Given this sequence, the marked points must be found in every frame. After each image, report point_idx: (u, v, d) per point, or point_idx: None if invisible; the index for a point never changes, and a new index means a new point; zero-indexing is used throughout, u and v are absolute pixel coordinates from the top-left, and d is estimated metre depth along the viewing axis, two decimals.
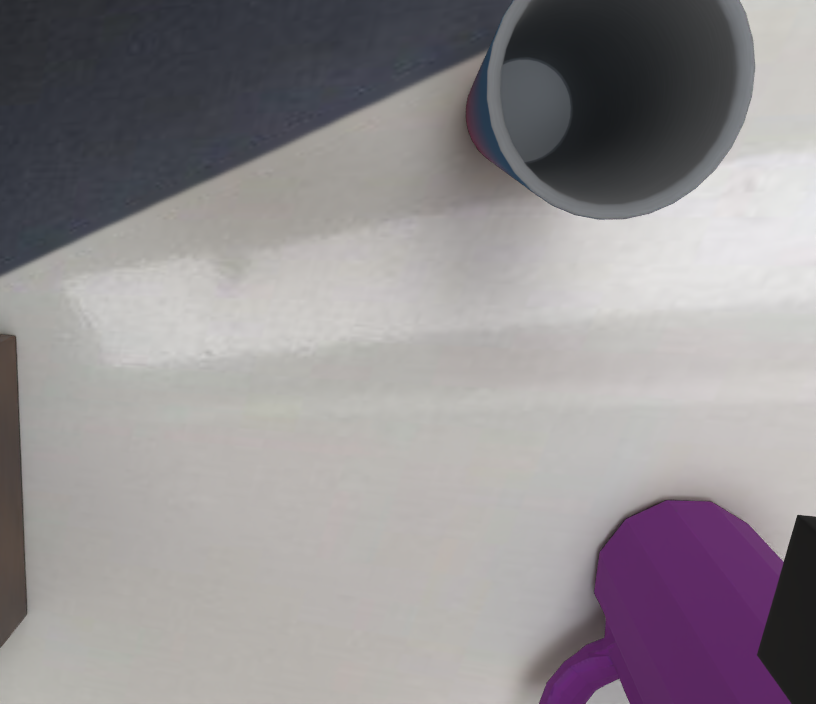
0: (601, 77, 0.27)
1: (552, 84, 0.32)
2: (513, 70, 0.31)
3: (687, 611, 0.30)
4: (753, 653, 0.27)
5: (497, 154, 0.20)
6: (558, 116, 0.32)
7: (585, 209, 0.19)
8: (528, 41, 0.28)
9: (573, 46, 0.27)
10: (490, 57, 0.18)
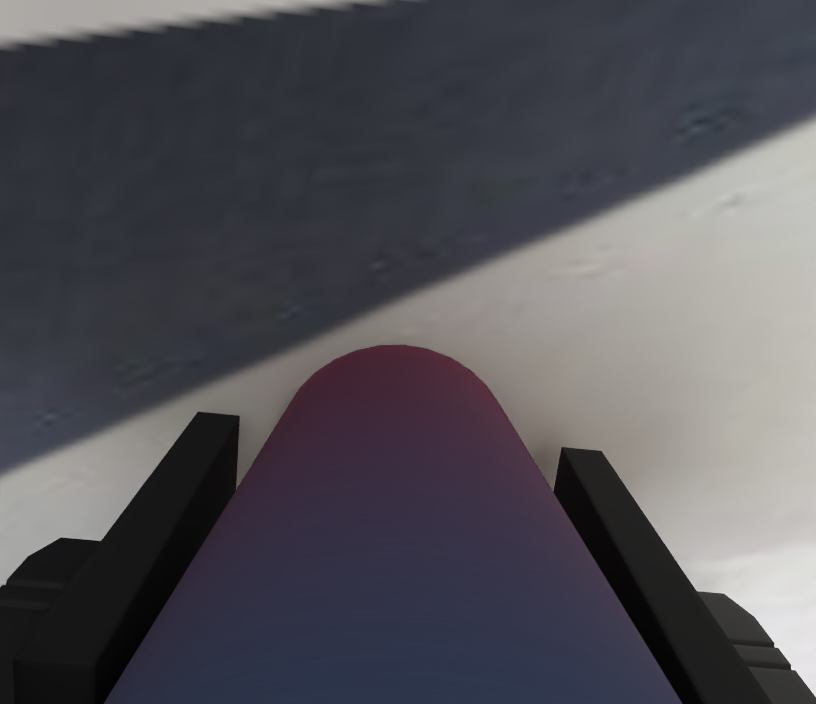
0: None
1: None
2: None
3: None
4: None
5: None
6: None
7: None
8: None
9: None
10: None
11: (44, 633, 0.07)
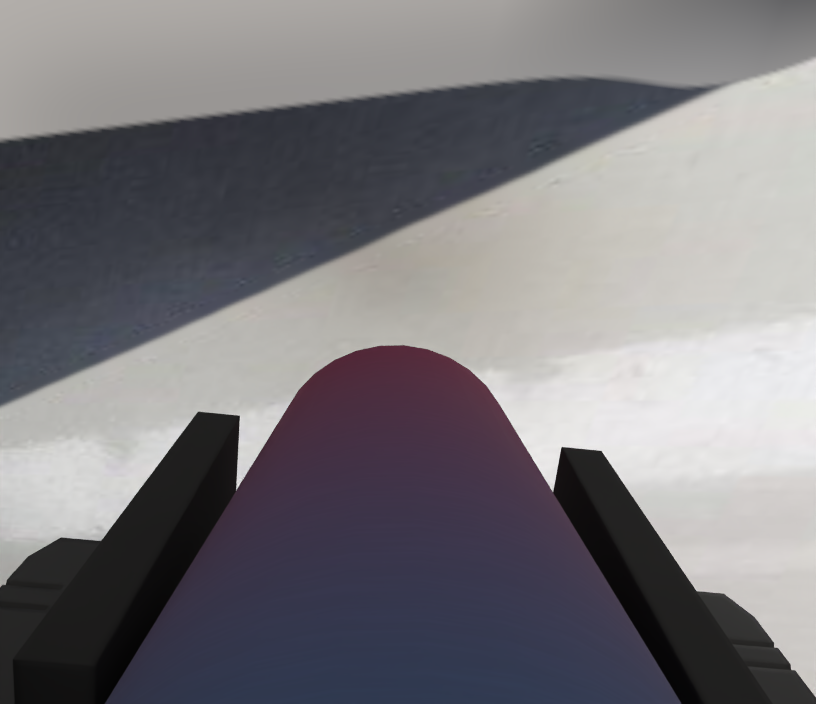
0: None
1: None
2: None
3: None
4: None
5: None
6: None
7: None
8: None
9: None
10: None
11: (44, 633, 0.07)
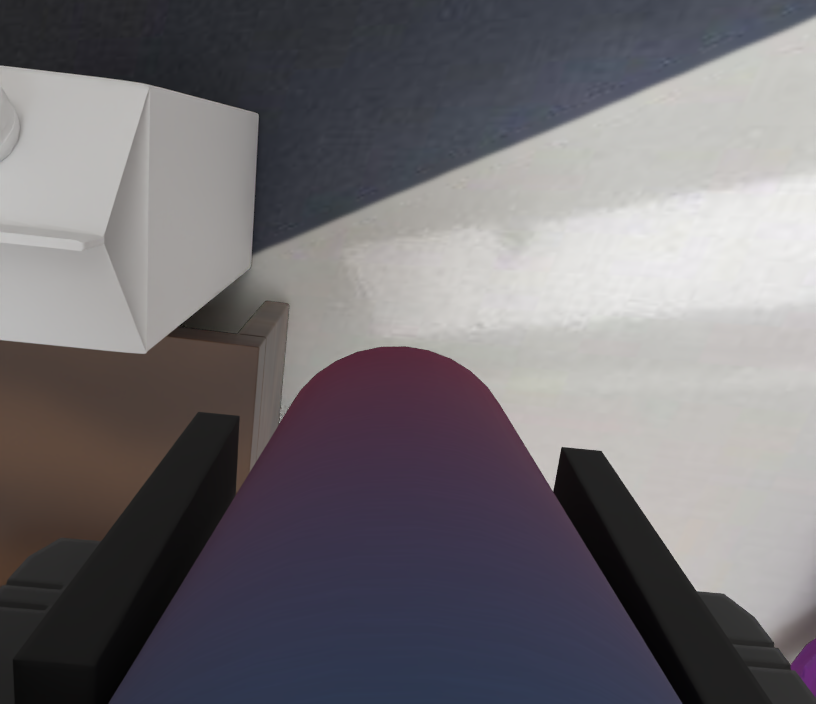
0: None
1: None
2: None
3: None
4: None
5: None
6: None
7: None
8: None
9: None
10: None
11: (45, 633, 0.07)
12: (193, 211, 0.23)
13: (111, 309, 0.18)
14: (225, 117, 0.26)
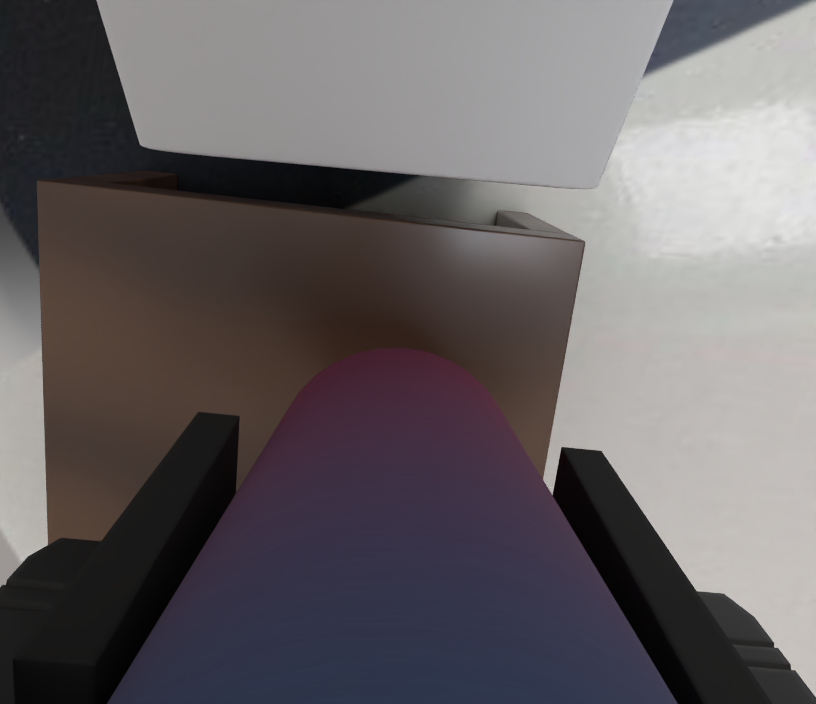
0: None
1: None
2: None
3: None
4: None
5: None
6: None
7: None
8: None
9: None
10: None
11: (45, 633, 0.07)
12: None
13: (607, 76, 0.10)
14: None
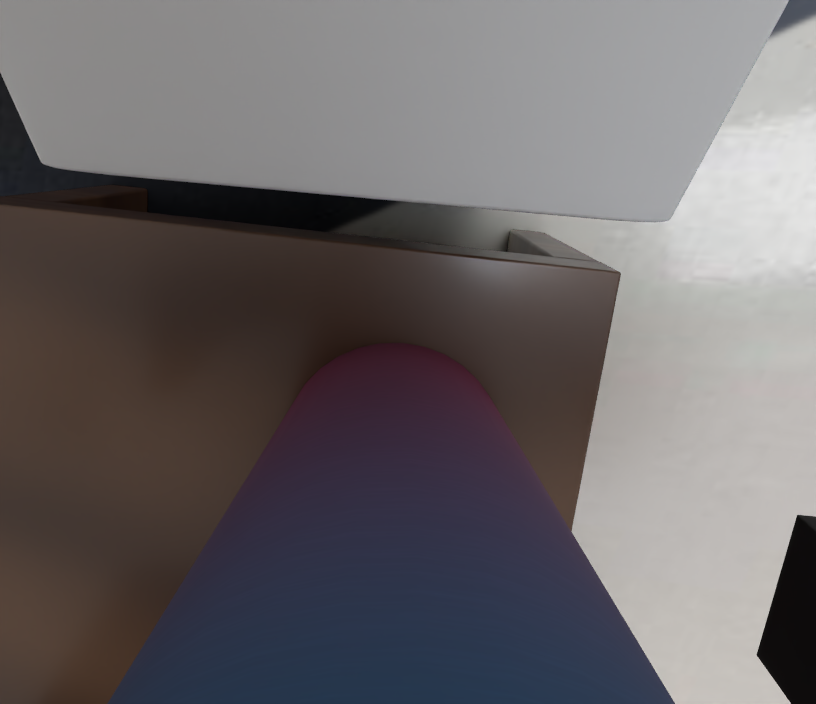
0: None
1: None
2: None
3: None
4: None
5: None
6: None
7: None
8: None
9: None
10: None
11: None
12: None
13: (703, 65, 0.07)
14: None
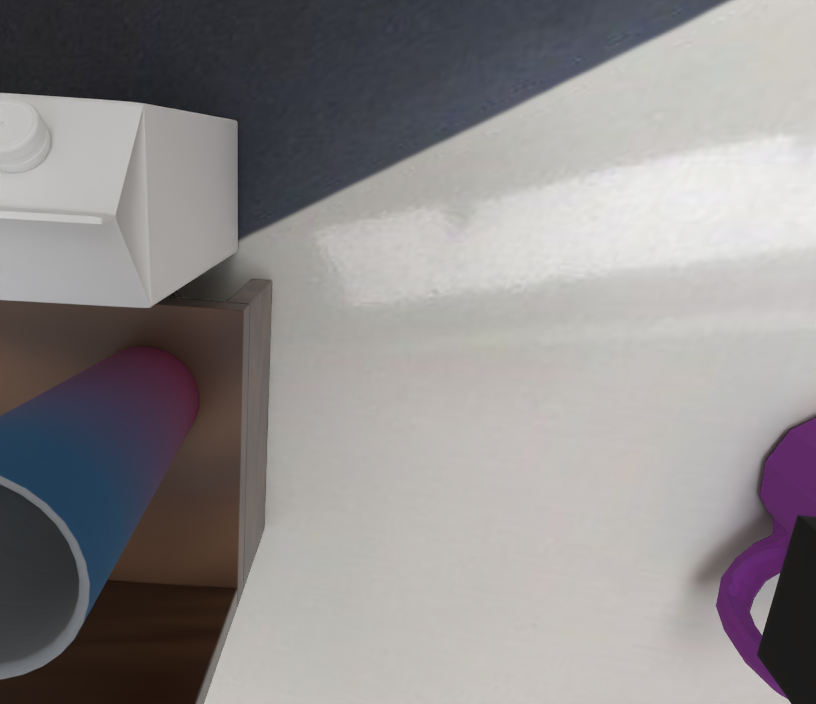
0: None
1: None
2: None
3: None
4: None
5: None
6: None
7: None
8: None
9: None
10: None
11: None
12: (183, 200, 0.29)
13: (123, 272, 0.24)
14: (206, 125, 0.32)
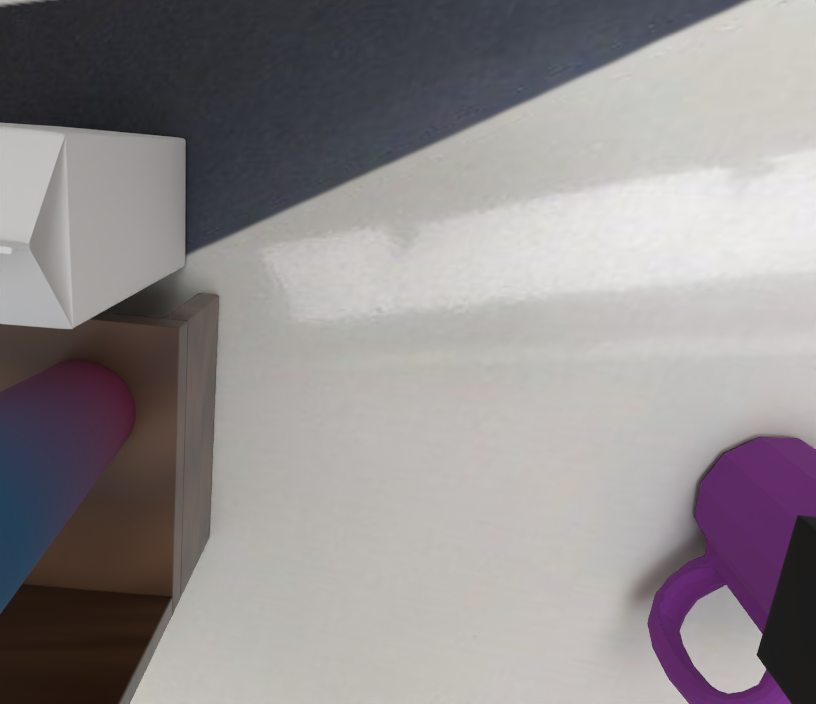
0: None
1: None
2: None
3: (795, 515, 0.37)
4: None
5: None
6: None
7: None
8: None
9: None
10: None
11: None
12: (115, 222, 0.30)
13: (42, 295, 0.25)
14: (145, 147, 0.33)
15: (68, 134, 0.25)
